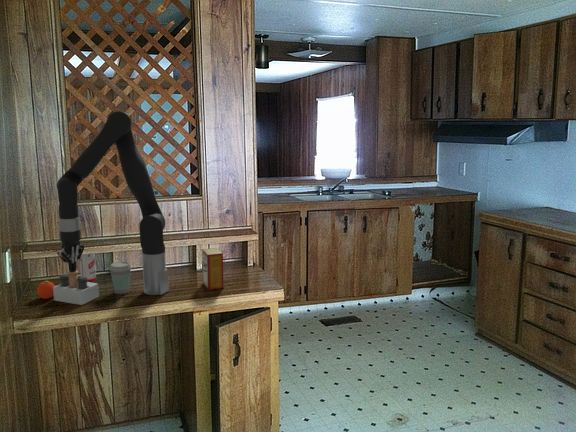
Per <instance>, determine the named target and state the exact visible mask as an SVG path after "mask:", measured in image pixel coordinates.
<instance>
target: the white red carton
mask: <svg viewBox="0 0 576 432" xmlns="http://www.w3.org/2000/svg"><path fill="white" fill-rule="evenodd" d="M79 267H80V270H79V271H80V277H87V278H88V280H87V282H91V283H96V281H97V271H96V256H95V252H94V253H90V254H82V255H81V257H80V259H79Z"/></svg>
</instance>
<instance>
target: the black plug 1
mask: <svg viewBox="0 0 576 432" xmlns="http://www.w3.org/2000/svg"><path fill="white" fill-rule="evenodd" d="M59 279H60V284H61V286H62V287H67V286H69V285H70V283H69V275H68V273H67V274H66V273H65V274H61V275H59Z"/></svg>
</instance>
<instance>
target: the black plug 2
mask: <svg viewBox="0 0 576 432" xmlns="http://www.w3.org/2000/svg"><path fill="white" fill-rule="evenodd" d="M87 280H88V278H87V277H81V276H80V277H78V278H77V281H78V286H79V289H82V290H84V289H86V288H87Z"/></svg>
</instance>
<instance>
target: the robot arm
mask: <svg viewBox="0 0 576 432" xmlns="http://www.w3.org/2000/svg"><path fill="white" fill-rule="evenodd" d="M114 144H115V146H116V149H117V153H118V158H119V161H120V162H119V163H120V167H121V171H122V173H123V177H124V179H125V182H126V184H127V187H128V189H129V191H130V192H131V194H132V195H133V197H134V198H135V200H136V202H137V204H138V207H139V209H140V212H141V217H142V218H141V220H140V222H139V240H140V247H141V253H142V255H141V257H142V273H143V275H142V277H143V293H144V294H145V295H148V296H162V295H164V294H165V293H167V292H170V289H169V288H170V286H169V268H167V265H166V263H167V261H166V245H165V242H164V229H165V227H166V219H165V216H164V214H163V212H162V210H161V208H160V205H159V204H158V201H157V198H156V196H155V190H154V188H153V184H152V182H151V181H152V180H151V178H150V177H151V176H150V175H149V171H148V168H147V166H146V163H145V161H144V158H143V157H142V154H141V152H140V151H139V149H138V147H137V145H136V142H135V139H134V135H133V130H132V119H131V117H130V115H129V114H128V113H127V112H125V111H123V110H115V111H113V112H112V113H110V114H109V115H108V117H107V118H106V122H105V124H104V125H103V127H102V128H101V130H100V132H99V133H98V135H97V136H96V137H95V138H94V140H93V141H92V142H90V144H89V145H88V146H87V147H86V148H85V149H84V150H83V151H82V152H81V154H80V155H79V156H78V157H77V159H76V160H75V161H74V162H73V164H72V165H71V166H70V168H69V169H67V170H66V172H65V173H64V174H63V175H61V177H60V178H59V179H58V181H57V182H56V189H57V197H58V203H59V204H58V218H59V219H58V228H59V229H58V230H59V239H60V242H61V250H60V251H57V252H56V253H57V255H58V257H59V258H60V259H61V260H62V261H63V263H67V267H68V271H70V272H75V271H76V270H77V267H78V266H77V262H78V261H79V260H80V257H81V255H82V253H83V250H84V248H85V244H84V245H83V244H81V240H82V236H81V235H82V234H81V233H82V232H81V222H80V216H79V213H80V212H79V206H78V205H79V204H78V197H79V195H78V187H79V185H80V184H81V183H82V182H83V181H84V180H85V179H87V178H88V177H89V176H90V175H91V173H92V172H93V171H94V170H95V168H96V167H97V166H98V165H99V163H100V162H101V160H103V158H104V157H105V155H106V153H108V151H109V150H110V148H111V147H112V146H113V145H114Z"/></svg>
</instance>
